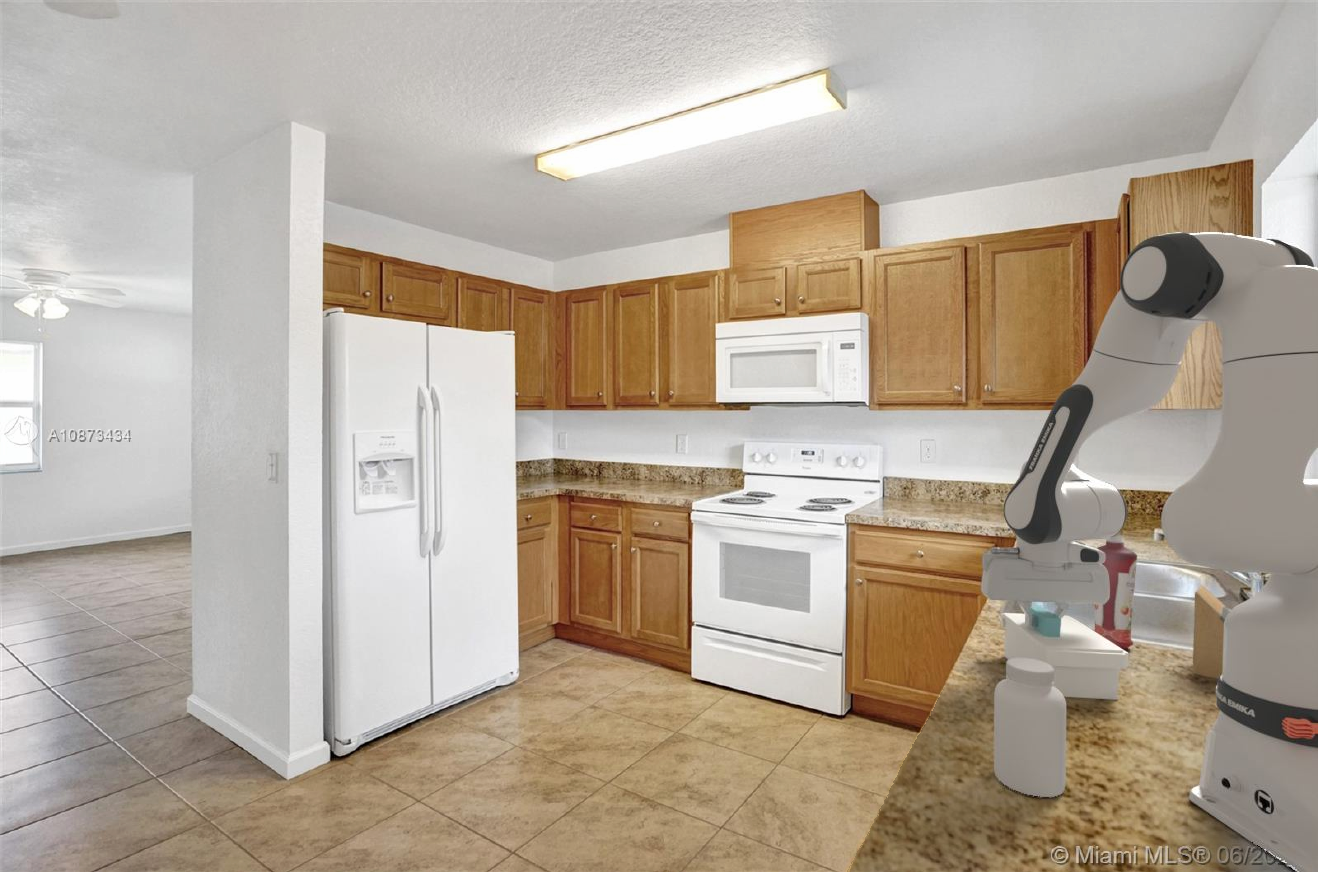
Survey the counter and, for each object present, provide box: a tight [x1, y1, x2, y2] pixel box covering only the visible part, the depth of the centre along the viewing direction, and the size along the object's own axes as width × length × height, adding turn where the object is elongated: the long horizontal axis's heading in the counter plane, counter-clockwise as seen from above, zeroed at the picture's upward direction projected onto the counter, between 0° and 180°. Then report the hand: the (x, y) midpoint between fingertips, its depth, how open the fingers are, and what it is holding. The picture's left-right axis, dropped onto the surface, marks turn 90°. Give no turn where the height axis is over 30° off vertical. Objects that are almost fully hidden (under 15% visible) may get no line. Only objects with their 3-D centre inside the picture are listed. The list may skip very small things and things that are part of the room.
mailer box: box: [1004, 619, 1120, 701], centre depth 118 cm, size 18×11×7 cm, turn 172°
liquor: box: [1094, 527, 1138, 651], centre depth 133 cm, size 7×7×28 cm
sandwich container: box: [1192, 584, 1231, 680], centre depth 117 cm, size 9×15×15 cm, turn 45°
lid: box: [1000, 604, 1129, 670], centre depth 118 cm, size 20×13×6 cm, turn 172°
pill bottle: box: [993, 658, 1067, 798], centre depth 84 cm, size 8×8×15 cm
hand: (1042, 626), depth 118 cm, fingers closed on lid, 2 cm apart
